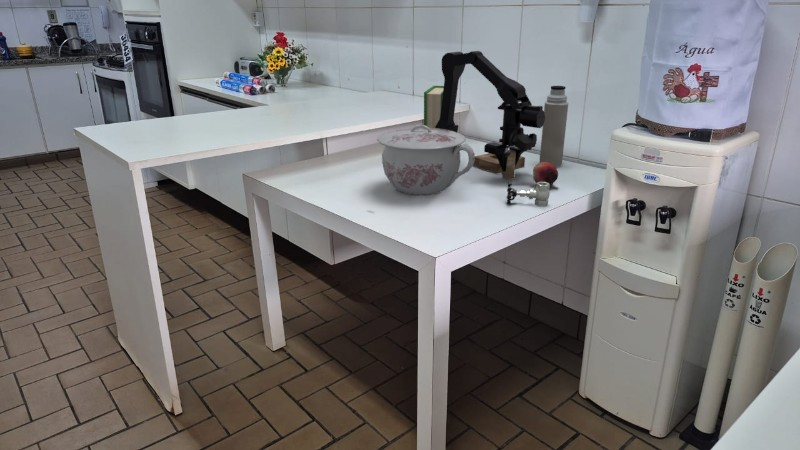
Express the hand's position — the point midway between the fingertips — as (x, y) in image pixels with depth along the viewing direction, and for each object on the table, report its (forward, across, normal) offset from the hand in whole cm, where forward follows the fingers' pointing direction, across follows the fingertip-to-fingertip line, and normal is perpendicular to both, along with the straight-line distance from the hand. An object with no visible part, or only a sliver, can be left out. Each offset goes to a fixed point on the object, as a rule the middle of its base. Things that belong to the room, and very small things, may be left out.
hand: (508, 170), depth 185 cm
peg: (+2, 0, 0) cm, 2 cm away
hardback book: (+3, +5, +44) cm, 44 cm away
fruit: (+3, +2, -14) cm, 14 cm away
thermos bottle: (+3, +24, +2) cm, 24 cm away
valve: (+3, -14, -22) cm, 26 cm away
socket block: (+3, +7, +12) cm, 14 cm away
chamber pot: (+3, -31, +8) cm, 32 cm away
